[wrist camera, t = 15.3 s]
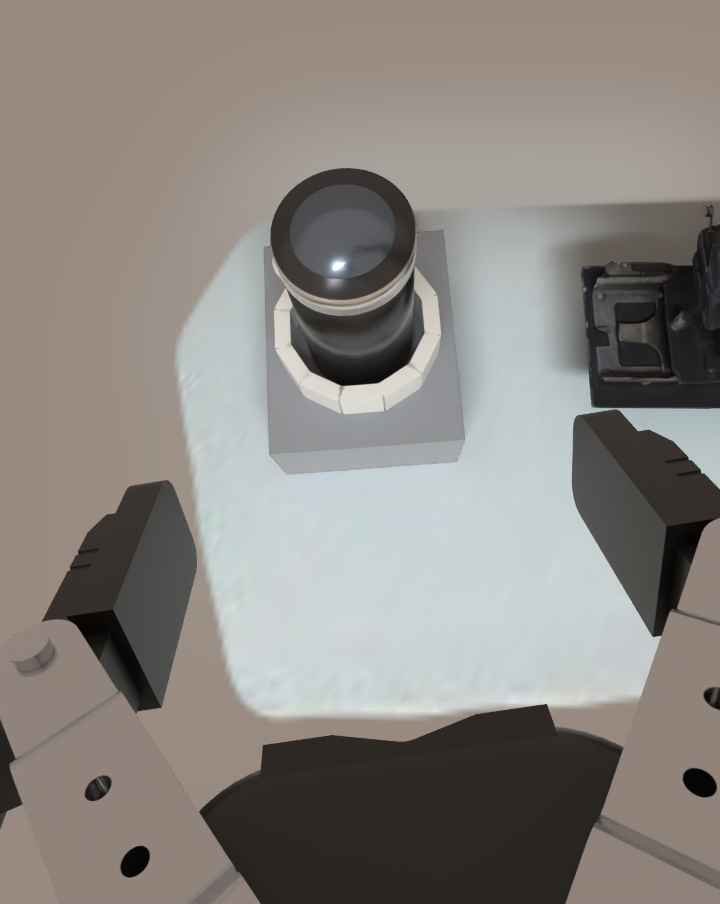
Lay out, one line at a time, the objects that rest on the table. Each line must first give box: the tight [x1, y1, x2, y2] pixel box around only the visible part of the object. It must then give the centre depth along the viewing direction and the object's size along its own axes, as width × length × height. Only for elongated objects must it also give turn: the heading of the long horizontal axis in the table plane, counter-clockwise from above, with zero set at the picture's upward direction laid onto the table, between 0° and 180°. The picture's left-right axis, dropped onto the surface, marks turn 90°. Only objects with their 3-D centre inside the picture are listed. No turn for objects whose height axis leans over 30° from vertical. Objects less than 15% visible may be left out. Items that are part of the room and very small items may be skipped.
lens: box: [270, 168, 417, 386], centre depth 29 cm, size 6×6×10 cm
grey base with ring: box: [264, 230, 465, 474], centre depth 35 cm, size 10×12×7 cm
